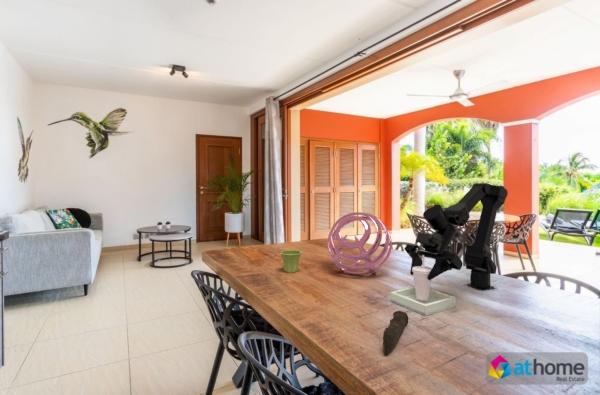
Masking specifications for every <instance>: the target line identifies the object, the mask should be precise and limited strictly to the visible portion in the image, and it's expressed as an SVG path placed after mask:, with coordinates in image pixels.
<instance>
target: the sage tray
mask: <svg viewBox="0 0 600 395" xmlns="http://www.w3.org/2000/svg"><path fill="white" fill-rule="evenodd" d="M389 297H390V298H389V299H390V300H389V301H390V302H391V303H394V304H395V305H398V306H401V307H403V308H405V309H407V310H409V311H412V312H415V313H417V314H420V315H422V316H424V317H427V316H431V315H434V314H438V313H440V312H443V311H447V310H449V309H453V308H456V300H457V299H456V296H454V295H450V294H447V293H443V292H441V291H437V290H434V289H432V288H430V292H429V299H428V300H419V299H417V298H416V291H415V285H414V286H411V287H407V288H403V289H399V290H394V291H390V292H389Z"/></svg>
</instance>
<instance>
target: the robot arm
mask: <svg viewBox="0 0 600 395" xmlns="http://www.w3.org/2000/svg"><path fill="white" fill-rule="evenodd" d="M507 197H508V190H507V188H505V186H503V185H493V184H491V183H487V182H479V183H478V182H476V183H473V184H472V186H471V188H470V189H469V191H468V192H467V193H465V195H463V197H462V198H461V199H460V200H459V201H458V202H456V203H455V204H451V205H449V206H447V207H446V208H445V209H443V207H442V205H441V204H434V205H433V206H431V207H428V208H427V209H426V210H424V212H423V214H422V217H423V218H424V220H425V221H426V223H427V224H428V225H429V227H430V228H431V229H432V230H434V233H432V234H430V233H425V232H417V233H418V234H417V236H416V239H415V242H416V243H419V244H421V247H422V249H423V250H422V249H421V248H420V247H419V245H417V244H412V243H407V244H406V245H405V247H404V249H403V250H404V251H405V252H406V253H407V254H408V255H409V257H410V258H411V266H410V272H409V273H410V275H411V276H414V275H413V272H412V268H413V267H415V266H422V255H424V258H428V259H433V260H434V264H433V266H432V267H431V268H432V269H431V271H430V273H429V275H428V278H427V279H428V280H431V281H432V280H433V279H434V278H436V277H438V276H439V275H441V274H444V273H446V272H447V271H452V269H453V270H457V271H460V270H461V269H462V267H463V264H464V265H465V268H466V269H467V270H470V275H469V276H470V278H469V280H470V282H469V283H467V285H466V286H468V287H471V288H474V289H476V290H480V291H485V290H490V289H492V290H493V289H495V286H492V285H491V274H493V275H494V274H495V273H496V271H497V265H496V264H495V262H494V260H493V258H492V256H493V253H492V250H491V248H490V243H491V238H492V234H493V230H494V225H495V221H496V218H497V214H498V210H499V209H500V208H501V207H502V206H503V205H505V201H506V199H507ZM479 202H480V203H481V205H482V207H481V208H482V209H481V212H480V217H479V221H478V224H477V228H476V233H475V236H474V240H473V242H472V243H471V244H467V245H466V247H465V252H464V256H463V259H464V263H463V260H462V259H461V258H460V256H459V255H458V254H457V253H456V252H454V251H450V250H451V246H450V245H451V242H452V241H453V239H454V238H459V237H460V233H459V232H458V228H456V226H457V227H464V226H465V225H466V224H467V222H468V221H469V219H470V218H471V217H470V212H471V211H472V210H473V209H474V208H475V207H476V206H477V205H478V204H479Z"/></svg>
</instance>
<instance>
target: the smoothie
mask: <svg viewBox="0 0 600 395" xmlns="http://www.w3.org/2000/svg"><path fill="white" fill-rule="evenodd" d="M432 268H433V267H429V266H425V257H424V255H422V266H415V267H413V268H412V272H413V275H412V276H413V282H414V286H415V291H416V298H417V299H419V300H428V299H429V292H430V289H431V285H432V284H431V283H432V279H431V280H428V279H427V278H428V275H429V273H430V271H431V269H432Z"/></svg>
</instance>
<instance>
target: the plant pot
mask: <svg viewBox="0 0 600 395" xmlns="http://www.w3.org/2000/svg"><path fill="white" fill-rule="evenodd" d="M301 254H302V251H300V250H297V249H290V250H289V249H288V250H282V251H280V255H281V257H282V258H281V259H282V263H283V269H284V272H286V273H288V274H289V273H291V274H292V273H296V272H299V265H300V264H299V263H300V257H301Z"/></svg>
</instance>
